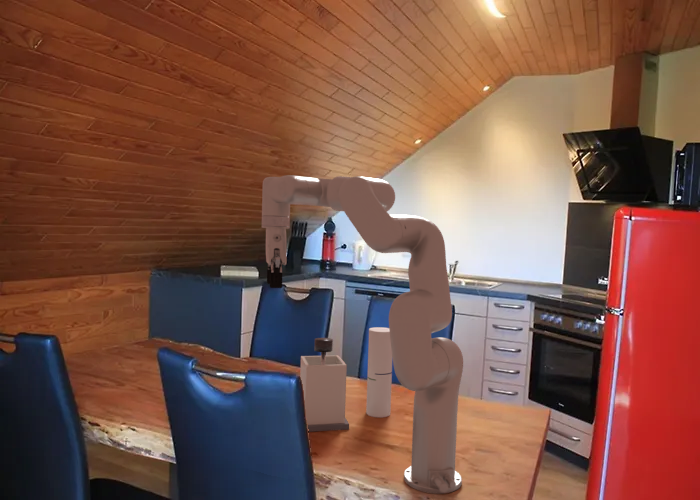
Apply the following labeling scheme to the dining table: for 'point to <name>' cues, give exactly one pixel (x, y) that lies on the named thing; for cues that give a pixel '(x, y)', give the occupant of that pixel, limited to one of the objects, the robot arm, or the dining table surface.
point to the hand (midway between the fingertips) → (274, 285)
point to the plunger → (323, 347)
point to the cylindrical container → (379, 372)
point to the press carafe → (324, 392)
